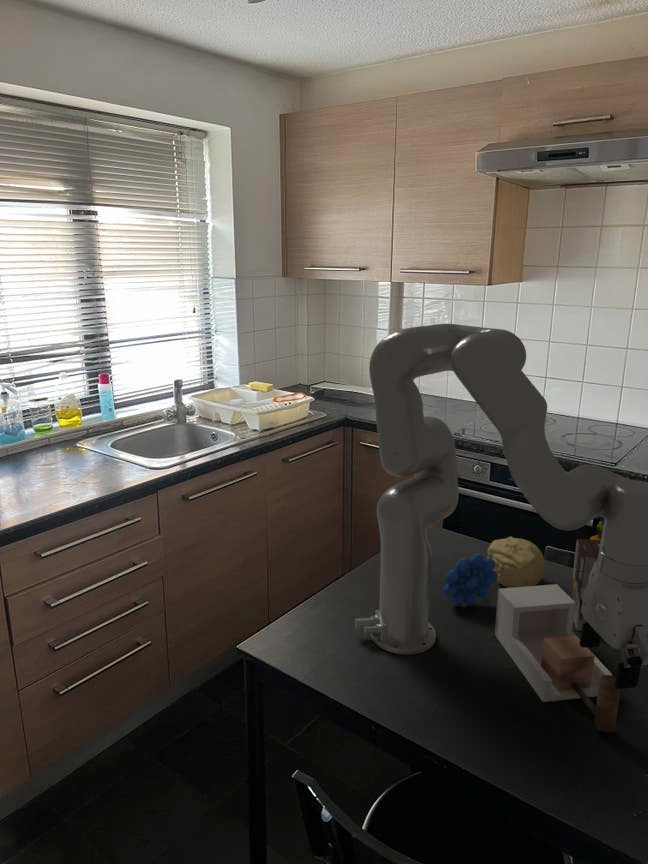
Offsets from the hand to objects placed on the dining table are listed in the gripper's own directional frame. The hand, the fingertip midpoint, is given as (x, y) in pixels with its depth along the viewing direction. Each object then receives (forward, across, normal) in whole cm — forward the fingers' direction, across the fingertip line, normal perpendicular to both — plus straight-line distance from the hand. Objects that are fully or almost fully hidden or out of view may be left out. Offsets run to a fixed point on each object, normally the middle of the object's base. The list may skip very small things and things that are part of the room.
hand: (606, 665), depth 98 cm
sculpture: (+13, -46, +8) cm, 48 cm away
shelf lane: (+12, -17, +1) cm, 21 cm away
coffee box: (+12, -29, +16) cm, 35 cm away
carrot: (+12, -43, +26) cm, 52 cm away
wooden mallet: (+11, -6, +1) cm, 12 cm away
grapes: (+13, -39, -6) cm, 42 cm away
